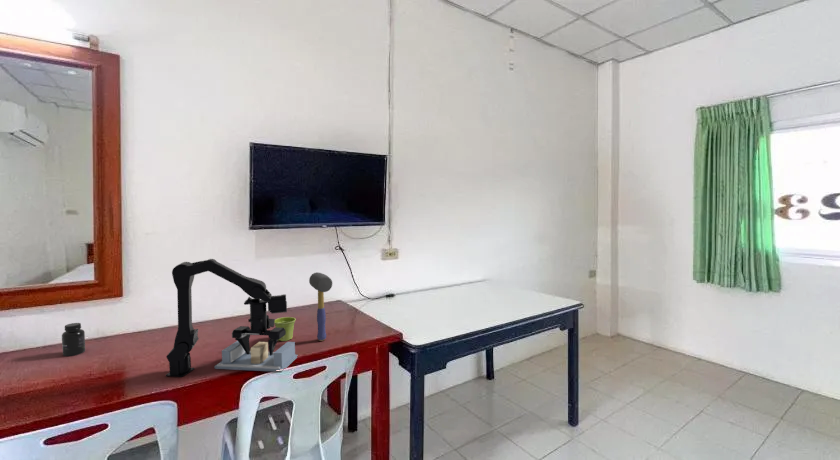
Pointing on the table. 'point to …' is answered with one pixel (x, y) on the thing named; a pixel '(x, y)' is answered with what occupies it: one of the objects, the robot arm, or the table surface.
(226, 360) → the block
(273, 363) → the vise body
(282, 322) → the plant pot
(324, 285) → the rubber mallet
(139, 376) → the table surface
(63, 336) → the supplement bottle
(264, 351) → the block
